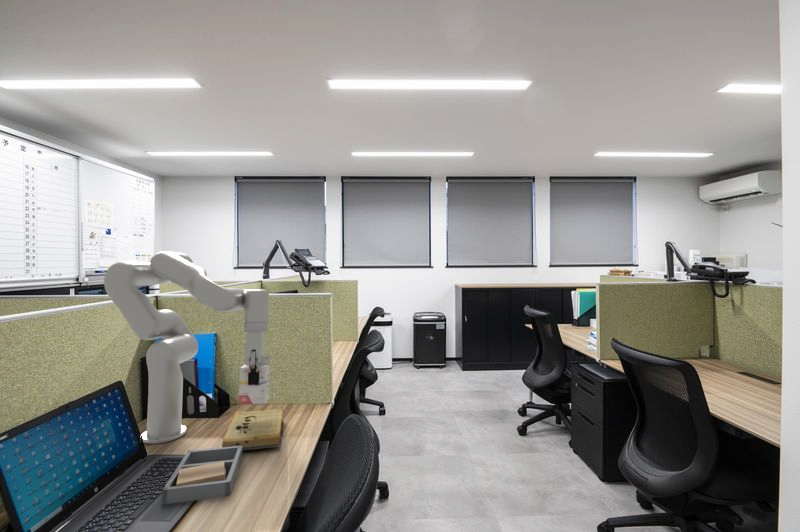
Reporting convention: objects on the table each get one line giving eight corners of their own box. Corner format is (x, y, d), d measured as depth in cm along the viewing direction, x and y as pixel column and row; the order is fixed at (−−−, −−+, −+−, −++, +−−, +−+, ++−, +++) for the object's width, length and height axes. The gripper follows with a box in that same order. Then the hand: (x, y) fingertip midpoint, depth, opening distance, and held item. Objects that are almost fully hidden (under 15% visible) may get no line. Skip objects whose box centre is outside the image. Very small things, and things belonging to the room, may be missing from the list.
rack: (187, 465, 99) (188, 450, 99) (242, 459, 103) (242, 445, 103) (161, 508, 81) (162, 490, 81) (229, 499, 84) (229, 481, 85)
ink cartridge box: (237, 404, 114) (239, 358, 115) (243, 399, 119) (244, 355, 120) (265, 404, 115) (266, 357, 116) (269, 399, 120) (270, 354, 121)
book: (234, 426, 126) (235, 409, 126) (283, 421, 131) (284, 405, 131) (220, 461, 102) (220, 440, 102) (281, 454, 107) (281, 434, 107)
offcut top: (179, 476, 89) (179, 469, 89) (223, 467, 93) (224, 460, 93) (176, 491, 82) (176, 483, 83) (224, 481, 87) (224, 474, 87)
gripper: (247, 323, 126) (246, 375, 125) (239, 330, 109) (237, 390, 108) (270, 323, 128) (268, 374, 127) (265, 329, 111) (264, 388, 110)
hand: (254, 381), depth 118 cm, fingers closed on ink cartridge box, 5 cm apart
